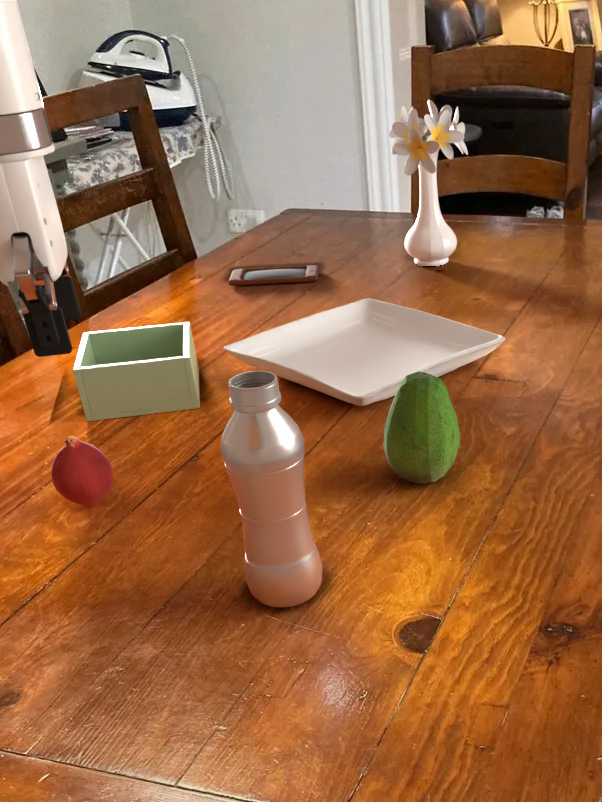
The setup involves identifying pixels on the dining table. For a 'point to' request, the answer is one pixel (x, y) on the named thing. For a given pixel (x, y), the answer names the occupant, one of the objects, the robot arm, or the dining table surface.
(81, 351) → the veg bin
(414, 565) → the dining table surface
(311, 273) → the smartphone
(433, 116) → the flower vase
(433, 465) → the avocado
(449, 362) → the square plate
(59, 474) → the onion
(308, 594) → the plastic bottle
